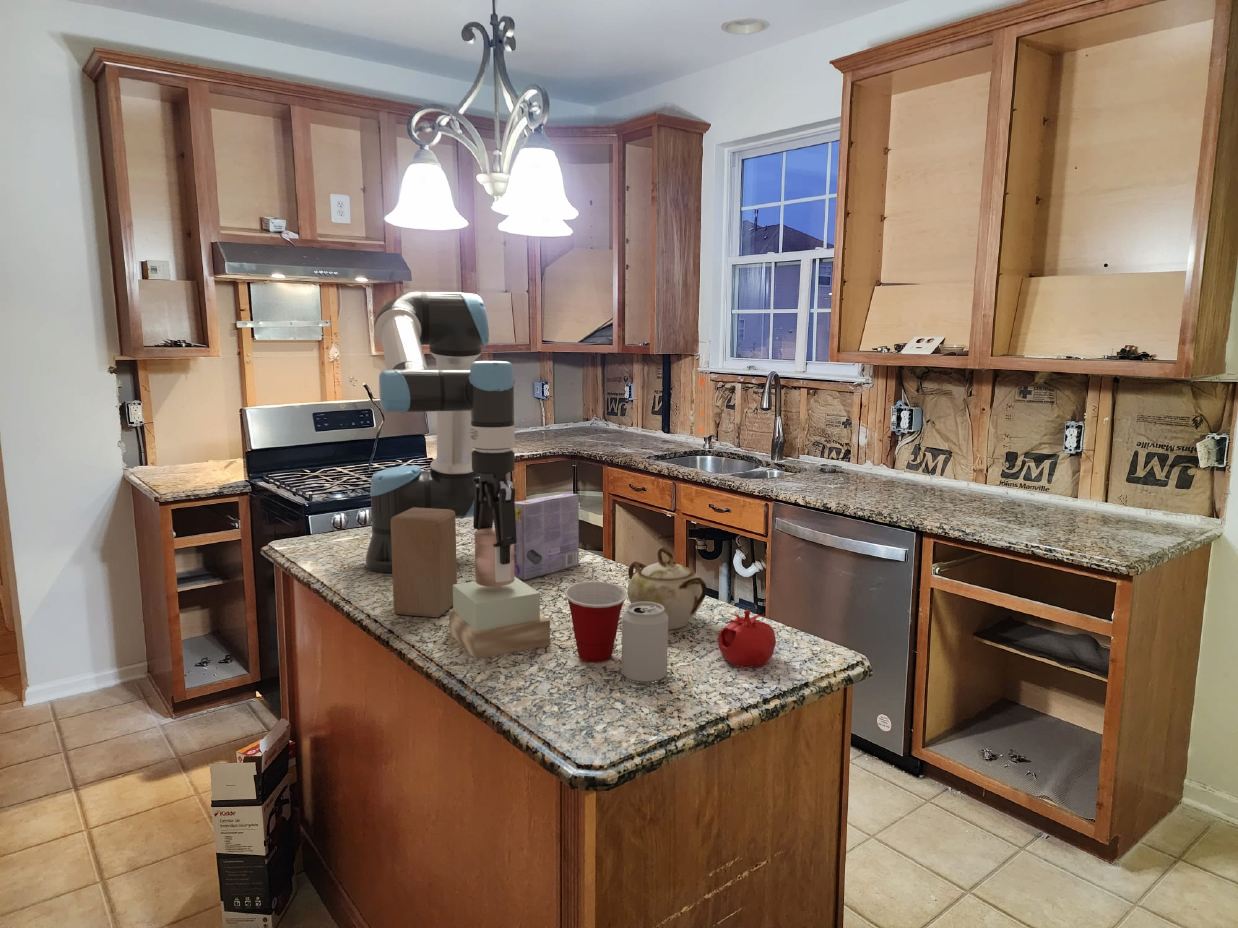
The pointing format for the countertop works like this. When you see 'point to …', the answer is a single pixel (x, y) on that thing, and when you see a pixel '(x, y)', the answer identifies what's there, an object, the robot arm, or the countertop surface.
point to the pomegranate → (747, 641)
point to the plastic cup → (595, 617)
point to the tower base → (499, 636)
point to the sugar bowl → (667, 588)
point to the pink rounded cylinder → (488, 558)
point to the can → (644, 642)
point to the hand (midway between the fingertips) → (494, 574)
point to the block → (423, 561)
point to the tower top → (496, 604)
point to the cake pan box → (546, 535)
